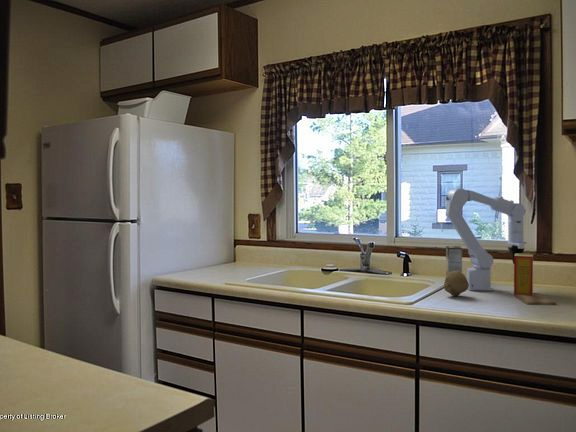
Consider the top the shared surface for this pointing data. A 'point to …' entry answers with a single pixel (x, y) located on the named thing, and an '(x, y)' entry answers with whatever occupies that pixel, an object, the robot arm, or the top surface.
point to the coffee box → (453, 259)
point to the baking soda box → (523, 274)
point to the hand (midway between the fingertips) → (516, 264)
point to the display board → (535, 299)
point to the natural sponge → (455, 283)
